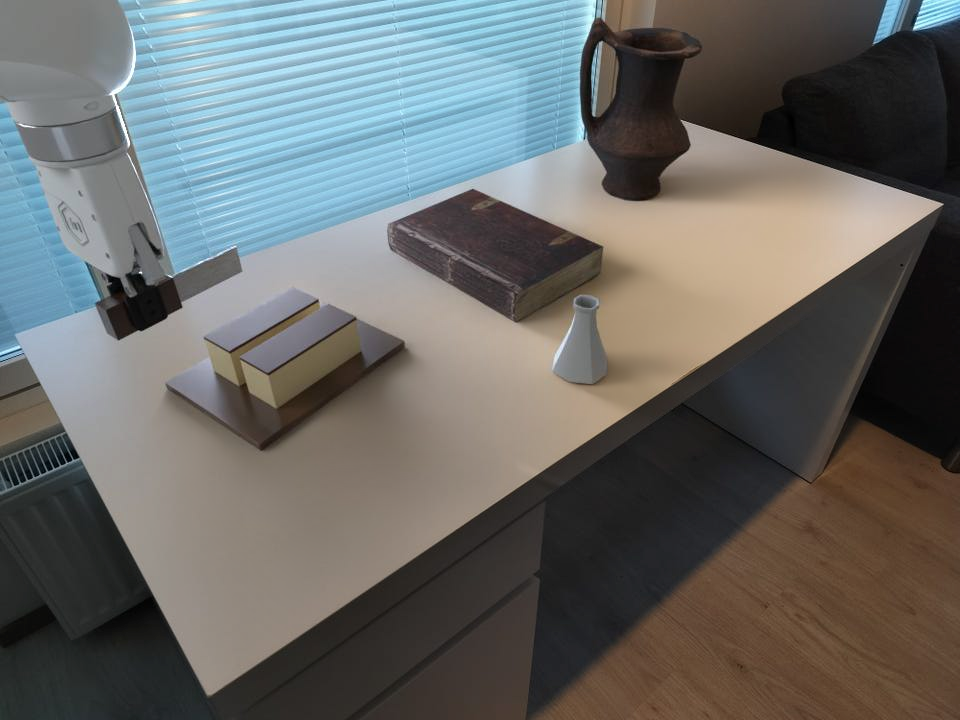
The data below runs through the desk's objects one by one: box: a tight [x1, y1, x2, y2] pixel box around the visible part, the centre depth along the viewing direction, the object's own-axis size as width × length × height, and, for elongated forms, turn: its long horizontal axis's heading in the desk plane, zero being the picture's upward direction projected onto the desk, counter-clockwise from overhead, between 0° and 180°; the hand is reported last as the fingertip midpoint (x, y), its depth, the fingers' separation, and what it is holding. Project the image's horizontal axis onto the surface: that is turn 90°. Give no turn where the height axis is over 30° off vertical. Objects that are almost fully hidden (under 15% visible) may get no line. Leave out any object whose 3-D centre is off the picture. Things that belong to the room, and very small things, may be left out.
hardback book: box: [386, 188, 604, 323], centre depth 107 cm, size 29×19×5 cm, turn 43°
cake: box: [202, 286, 361, 409], centre depth 86 cm, size 14×12×5 cm
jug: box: [579, 16, 703, 201], centre depth 122 cm, size 21×18×30 cm
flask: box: [551, 294, 608, 385], centre depth 84 cm, size 7×7×10 cm
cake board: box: [164, 300, 406, 451], centre depth 88 cm, size 24×18×1 cm
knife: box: [94, 245, 243, 341], centre depth 69 cm, size 15×2×4 cm, turn 143°
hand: (144, 317), depth 67 cm, fingers closed on knife, 2 cm apart
